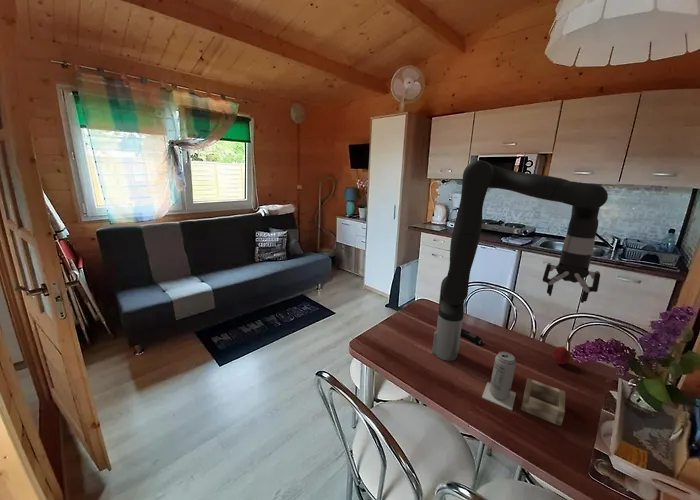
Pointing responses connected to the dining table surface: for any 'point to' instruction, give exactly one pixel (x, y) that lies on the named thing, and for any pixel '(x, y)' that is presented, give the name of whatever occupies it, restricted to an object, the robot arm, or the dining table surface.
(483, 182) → the robot arm
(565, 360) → the onion
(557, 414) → the pocket holder
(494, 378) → the energy drink can
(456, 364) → the dining table surface
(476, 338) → the electric trimmer
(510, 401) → the grey pad
